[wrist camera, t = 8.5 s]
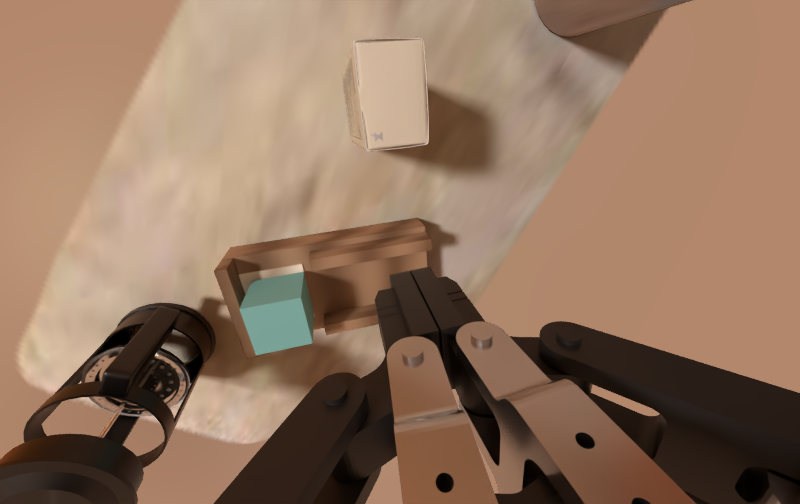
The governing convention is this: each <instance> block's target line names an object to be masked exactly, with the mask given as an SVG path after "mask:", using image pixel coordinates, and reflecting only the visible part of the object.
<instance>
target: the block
mask: <svg viewBox="0 0 800 504" xmlns="http://www.w3.org/2000/svg"><path fill="white" fill-rule="evenodd" d="M239 310H240V312H241V315H242V318H243V321H244V323H245V326H246V329H247V332H248V334H249V337H250V340H251V343H252V345H253V348H254V351H255V354H256V355H261V354H265V353H270V352H275V351H279V350H284V349H289V348H293V347H298V346H303V345H307V344H312V343H313V326H314V311H313V306H312V302H311V298H310V294H309V290H308V286H307V282H306V278H305V274H304V272H299V273H294V274H288V275H282V276H277V277H271V278H265V279H260V280H254V281H251V283H250V286H249V288H248V290H247V293H246V295H245V297H244V300H243V302H242V304H241V307H240V309H239Z"/></svg>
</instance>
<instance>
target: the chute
mask: <svg viewBox="0 0 800 504" xmlns="http://www.w3.org/2000/svg"><path fill="white" fill-rule="evenodd" d="M429 250H432V239H431V238H430V237H429V235H428V234H427V233H426V232H425V226H424V225H423V224H422V223H421V221H420V220H419V219H418V218H414V219H408V220H401V221H395V222H389V223H382V224H376V225H370V226H363V227H357V228H351V229H345V230H338V231H332V232H326V233H319V234H313V235H307V236H300V237H294V238H288V239H281V240H275V241H269V242H262V243H256V244H250V245H244V246H237V247H231V248H230V249H229V250H228V252H227V253H226V255H225V256H224V257H223V259H222V260H221V262H220V263H219V265H218V266H217V268H216V269H215V270H214V273H215V276H216V278H217V281H218V284H219V286H220V289H221V291H222V294H223V297H224V299H225V302H226V305H227V307H228V310H229V312H230V315H231V318H232V320H233V323H234V326H235V328H236V331H237V333H238V336H239V339H240V341H241V344H242V347H243V349H244V352H245V354H246V357H247V359H248V358H253V357H258V355H256V354H255V351H254V348H253V345H252V343H251V340H250V337H249V334H248V332H247V329H246V326H245V323H244V321H243V318H242V315H241V312H240V310H239V309H240V307H241V304H242V302H243V300H244V297H245V295H246V293H247V290H248V288H249V286H250V283H251V281H254V280H260V279H265V278H271V277H277V276H282V275H288V274H294V273H299V272H304V274H305V278H306V282H307V286H308V290H309V294H310V298H311V302H312V306H313V311H314V326H313V330H315V329H320V328H325V332H326V335H329V334H334V333H339V332H343V331H348V330H353V329H358V328H362V327H367V326H372V325H376V324H379V322H378V316H377V311H376V305H375V298H376V295H377V293H378V291H379V290H384V289H389V288H391V284H390V276H389V275H390V274H395V273H400V272H405V271H409V272H410V270H415V269H420V268H424V267H427V253H426V251H429Z"/></svg>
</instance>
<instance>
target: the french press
mask: <svg viewBox="0 0 800 504" xmlns="http://www.w3.org/2000/svg"><path fill="white" fill-rule="evenodd" d="M139 325H143V326H142V327H141V328H140V330H139V331H138V332H137V333H136V334H135V335H134V337H133V338H132V339H131V340H130V333H131V330H132V328H133V327H134V326H139ZM173 329H174V330H177V331H179V332H181V333H183V334H184V335H186V336H187V337H189V338H190V339H191V340H192V341H193V342H194V343H195V344H196V346H197V347H198V349H199V351H200V352H199V353H198V354H197V356H196V357H194V358H193V359H192V360H190V361H188V362H186V363H183V362H182V361H181V360H180V359H179V358H178V357H177V356H175V355H174V354H172V353H171V352H169V351H167V350H165V349H163V348H161V347H162V345H163V344H164V342H165V341H166V339H167V338H168V336H169V335H170V334H171V332H172V331H173ZM214 347H215V334H214V331H213V329H212V327H211V326H210V324H209V323H208V322H207V320H206V319H205V318H204V317H202V316H201V315H200V314H198V313H197V312H195V311H193V310H191V309H189V308H186V307H183V306H180V305H176V304H170V303H156V304H149V305H145V306H142V307H139V308H137V309H135V310H133V311H131V312H130V313H128V314H127V315H126V316H125V317H124V318H123V319H122V320H121V321H120V323H119V324H118V326H117V328H116V329H115V330H114V331H113V332H112V333H111V334H110V336H109V337H108V338H107V339H106V340H105V342H104V343H103V344H102V345H101V346H100V347H99V348H98V349H97V350H96V351H95V352H94V353H93V354H92V355H91V356H90V357H89V359H88V360H87V361H86V362H85V363H84V364H83V365H82V366H81V367H80V368H79V369H78V370H77V371H76V372H75V373H74V374H73V375H72V376H71V377H70V378H69V379H68V380H67V381H66V382H65V383H64V384H63V386H62V387H61V388H60V389H59V390H58V391H57V392H56V393H55V394H54V395H53V396H52V397H50V398H49V399H48V400H47V401H46V402H45V403H44V404H43V405H42V406H41V407H40V408H39V409H38V410H37V411H36V412H35V413H34V414H33V415H32V417H31V418H30V419H29V421H28V422H27V424H26V426H25V429H24V442H25V443H23V444H21V445H19V446H17V447H15V448H13V449H12V450H11V451H9V452H8V453H7V454H5V456H3V458H2V459H1V460H0V504H137V502H138V499H137V494H136V492H137V490H138V488H139V486H140V484H141V482H142V480H143V474H144V472H143V468H144V467H146V466H148V465H149V464H151V463H152V462H153V461H155V460H156V459H157V458H158V457H159V456H160V455H161V454H162V452H163V450H164V449H165V447H166V445H167V443H168V441H169V438H170V436H171V434H172V432H173V430H174V428H175V426H176V424H177V422H178V419H179V417H180V415H181V413H182V411H183V409H184V407H185V405H186V403H187V400H188V398H189V396H190V394H191V392H192V390H193V388H194V386H195V384H196V381H197V379H198V377H199V375H200V373H201V371H202V369H203V367H204V365H205V362H206V361H207V360H208V359H209V358H210V356H211V354H212V352H213V350H214ZM80 381H81V382H82V383H81V384H78V383H79V382H80ZM190 383H192V384H191V386H190ZM189 387H190V388H189ZM80 397H89V398H90V399H91V400H92V401H93V402H94V403H96V404H97V405H99V406H100V407H102V408H104V409H106V410H108V411H111V412H114V415H113V416H112V418H111V419H110V420H109V422H108V423H107V425H106V426H105V427H104V429H103V431H102V432H101V433H100V435H99V436H98V437H96V436H90V435H83V434H59V435H51V436H46V434H45V433H44V431H43V428H42V425H41V424H42V423H43V422H44V421H45V419H46V418H47V417H48V416H49V415H50V414H51V413H52V412H53V411H54V410H55V409H56V407H57V406H58V405H59V404H60V403H61V402H62V401H65V400H68V399H74V398H80ZM182 401H183V402H182ZM181 402H182V404H181V406H180V408H179V410H178V412H177V414H176V416H175V418H174V417H173V414H172V412H171V410H170V409H172V408H174V407H176V406H177V405H178V404H180V403H181ZM151 415H154V416H155V417H156V418H157V420H158V421H159V422H160V423H161V425H162V427H163V430H164V434H165V440H164V442H163V443H162V444H161V445H159V446H158V447H157V448H155V449H154V450H152V451H150V452H148V453H146V454H143V455H141V456H136V455H135V454H134V453H133V452H132V451H130V450H129V449H127V448H126V447H124V446H123V444H124V442H125V440H126V438H127V437H128V435H129V434H130V432H131V430H132V429H133V427H134V425H135V424H136V422H137V420H138V419H139V417H140V416H151Z"/></svg>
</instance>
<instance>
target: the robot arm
mask: <svg viewBox="0 0 800 504" xmlns="http://www.w3.org/2000/svg"><path fill="white" fill-rule="evenodd" d="M689 1H691V0H535V5H536V8H537V11H538V14H539V16H540V18H541V20H542V21H543V23H544V24H545V25H546V26H547V27H548V28H549V29H550V30H551V31H552V32H554V33H556V34H557V35H560V36H565V37H572V36H578V35H581V34H584V33H588V32H591V31H594V30H597V29H601V28H604V27H607V26H611V25H614V24H617V23H621V22H624V21H627V20H630V19H634V18H637V17H640V16H643V15H647V14H650V13H653V12H656V11H659V10H663V9H666V8H669V7H672V6H675V5H679V4H682V3H685V2H689ZM389 276H390V284H391V288H389V289H384V290H379V291H378V293H377V295H376V298H375V305H376V311H377V316H378V322H379V327H380V333H381V337H382V342H383V346H384V350H385V358H384V360H383V362H382V363H381V365H380V366H379V367H378V368H377V369H376V370H374V371H373V372H371V373H370V374H368V375H366V376H364V377H363V378H361V379H360V378H359V377H358V376H356V375H354V374H351V373H336V374H332V375H329V376H327V377H325V378H324V379H322V380H320V381H319V382H318V383H317V384H316V385H315V386H314V387H313V388H312V389H311V390H310V392H309V393H308V394H307V395H306V396H305V397H304V399H303V400H302V401H301V402H300V403H299V404H298V406H297V407H296V408H295V409H294V410H293V411H292V413H291V414H290V415H289V416H288V417H287V418H286V420H285V421H284V422H283V423H282V424H281V425H280V427H279V428H278V429H277V430H276V431H275V432H274V434H273V435H272V436H271V437H270V438H269V439H268V441H267V442H266V443H265V444H264V445H263V446H262V448H261V449H260V450H259V451H258V452H257V453H256V455H255V456H254V457H253V458H252V459H251V461H250V462H249V463H248V464H247V465H246V466H245V467H244V469H243V470H242V471H241V472H240V473H239V475H238V476H237V477H236V478H235V479H234V480H233V482H232V483H231V484H230V485H229V486H228V487H227V489H226V490H225V491H224V492H223V493H222V494H221V496H220V497H219V498H218V499H217V500H216V502H215V503H214V504H365V503H366V501H367V498H368V497H369V495H370V493H371V491H372V489H373V486H374V485H375V482H376V481H377V479H378V477H379V474H380V471H381V466H383V465H384V464H386V463H387V462H389V461H390V460H391V459H393V458H394V457H396V456H397V458H398V467H399V476H400V484H401V493H402V501H403V504H800V393H797V392H794V391H791V390H787V389H784V388H781V387H778V386H775V385H772V384H768V383H765V382H762V381H759V380H755V379H752V378H749V377H746V376H742V375H739V374H736V373H733V372H730V371H726V370H723V369H720V368H716V367H713V366H710V365H707V364H704V363H701V362H697V361H694V360H691V359H688V358H685V357H681V356H678V355H675V354H672V353H668V352H665V351H662V350H659V349H656V348H652V347H649V346H646V345H643V344H639V343H636V342H633V341H630V340H626V339H623V338H620V337H616V336H614V335H610V334H607V333H603V332H601V331H597V330H594V329H591V328H588V327H584V326H581V325H578V324H575V323H571V322H562V321H560V322H552V323H549V324H547V325H545V326H544V327H542V329H541V331H540V337H512V336H509V335H508V334H507V333H505V331H504V330H503V329H502V328H500V327H499V326H497V325H495V324H492V323H488V322H485V321H484V319H483V318H482V316H481V315H480V314H479V313H478V311H477V310H476V308H475V307H474V306H473V304H472V303H471V302H470V300H469V299H467V296H466V295H465V293H464V292H462V289H461V288H460V287H459V285H458V284H457V282H455V281H453V280H451V279H449V278H448V277H441V278H437V277H436V276H435V274H434V273H433V271H432V269H431V268H430V267H424V268H420V269H415V270H410V272H409V271H405V272H400V273H395V274H390V275H389ZM592 384H594V385H596V386H598V387H601V388H603V389H606V390H608V391H611V392H613V393H616V394H618V395H621V396H623V397H625V398H628V399H631V400H633V401H635V402H638V403H641V404H643V405H645V406H648V407H650V408H652V409H654V410H656V411H657V412H659V413H660V414H659V415H658V416H645V415H642V414H640V413H637V412H635V411H633V410H630V409H628V408H625V407H623V406H621V405H618V404H616V403H614V402H611V401H609V400H606V399H604V398H602V397H599V396H597V395H595V394H592V393H591V388H592ZM452 389H456V391H457V394H458V396H459V406H460V410H459V409H458V406H457V403H456V400H455V398H454V395H453V391H452ZM477 444H478V446H479V448H480V450H481V452H482V454H483V456H484V458H485V459H486V462H487V463H488V465H489V467H490V469H491V471H492V473H493V475H494V478H495V480H496V483H497V486H498V491H499V494H495V493H494V491H493V488H492V486H491V482H490V480H489V477H488V474H487V471H486V468H485V466H484V463H483V460H482V457H481V454H480V452H479V449H478V446H477Z"/></svg>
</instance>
